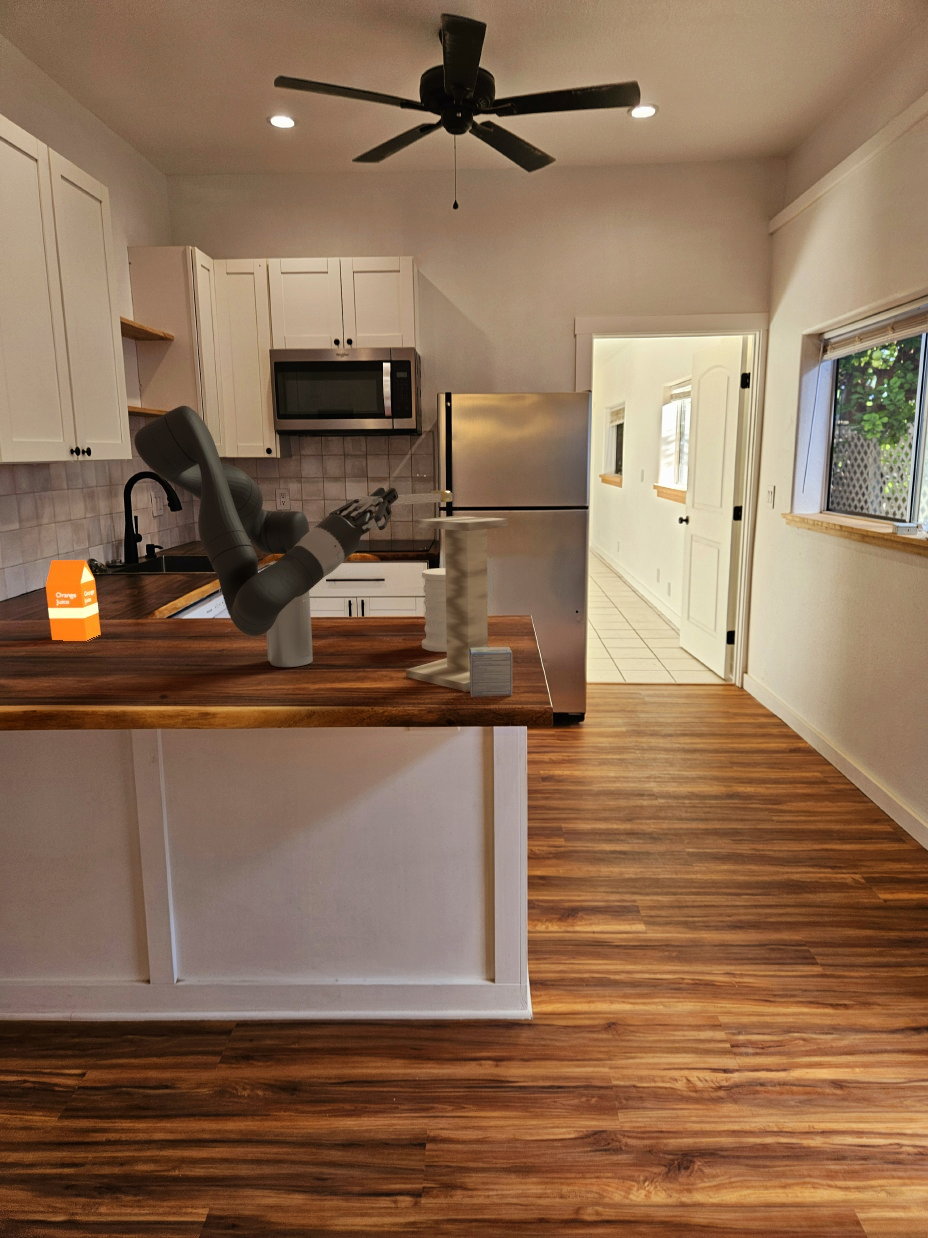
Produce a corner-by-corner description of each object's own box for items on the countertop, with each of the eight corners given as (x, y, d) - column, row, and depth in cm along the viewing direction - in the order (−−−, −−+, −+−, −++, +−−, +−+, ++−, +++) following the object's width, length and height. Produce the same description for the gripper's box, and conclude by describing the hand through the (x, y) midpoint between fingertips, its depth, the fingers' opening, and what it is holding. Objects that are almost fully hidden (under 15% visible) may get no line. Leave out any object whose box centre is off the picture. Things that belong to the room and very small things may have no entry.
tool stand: (406, 676, 165) (401, 520, 158) (455, 662, 176) (453, 515, 169) (464, 691, 154) (462, 524, 148) (512, 674, 165) (512, 518, 159)
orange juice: (86, 641, 200) (78, 561, 196) (51, 641, 200) (42, 562, 196) (101, 634, 207) (93, 557, 203) (67, 635, 208) (58, 558, 204)
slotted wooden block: (360, 505, 142) (359, 494, 141) (441, 500, 157) (441, 490, 156) (373, 506, 139) (373, 495, 139) (454, 501, 155) (454, 490, 154)
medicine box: (510, 689, 155) (510, 646, 153) (512, 696, 151) (512, 651, 149) (469, 690, 155) (468, 647, 153) (470, 697, 150) (470, 652, 148)
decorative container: (438, 638, 199) (437, 566, 195) (479, 643, 193) (478, 569, 189) (412, 648, 189) (410, 572, 185) (454, 654, 183) (453, 576, 179)
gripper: (343, 530, 128) (409, 474, 137) (290, 526, 137) (355, 473, 146) (362, 568, 132) (425, 510, 141) (310, 561, 141) (372, 508, 151)
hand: (389, 492), depth 144 cm, fingers closed on slotted wooden block, 2 cm apart
